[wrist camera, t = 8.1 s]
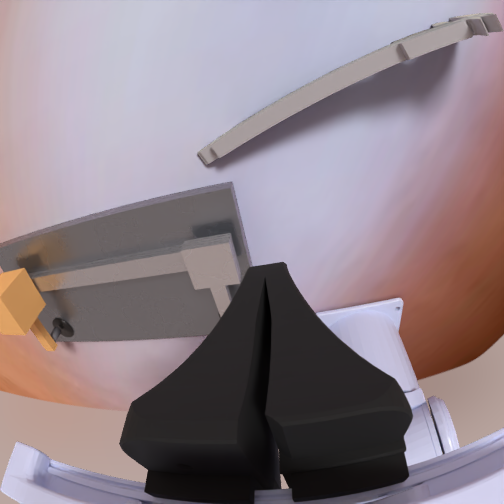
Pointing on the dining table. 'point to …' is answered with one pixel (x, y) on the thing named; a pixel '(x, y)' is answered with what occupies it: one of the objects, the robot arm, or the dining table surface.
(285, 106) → the caliper
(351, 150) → the dining table surface
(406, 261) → the dining table surface
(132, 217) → the board
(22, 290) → the block
